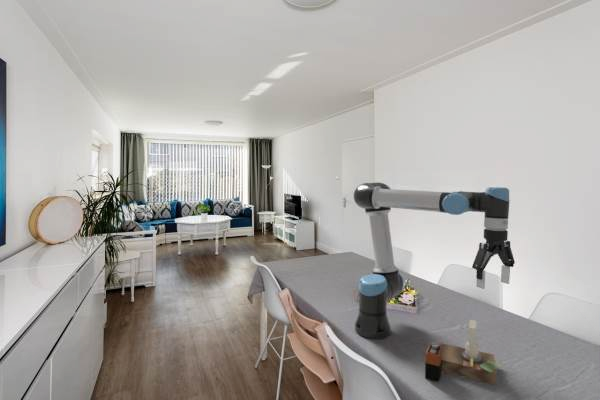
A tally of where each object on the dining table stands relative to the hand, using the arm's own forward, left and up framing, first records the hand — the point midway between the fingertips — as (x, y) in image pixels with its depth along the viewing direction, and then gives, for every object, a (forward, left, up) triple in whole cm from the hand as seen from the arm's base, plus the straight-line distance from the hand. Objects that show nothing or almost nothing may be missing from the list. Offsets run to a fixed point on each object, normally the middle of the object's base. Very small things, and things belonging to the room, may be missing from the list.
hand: (492, 285), depth 119 cm
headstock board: (-9, -15, -26) cm, 32 cm away
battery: (-18, -25, -26) cm, 41 cm away
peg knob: (-6, -17, -22) cm, 29 cm away
